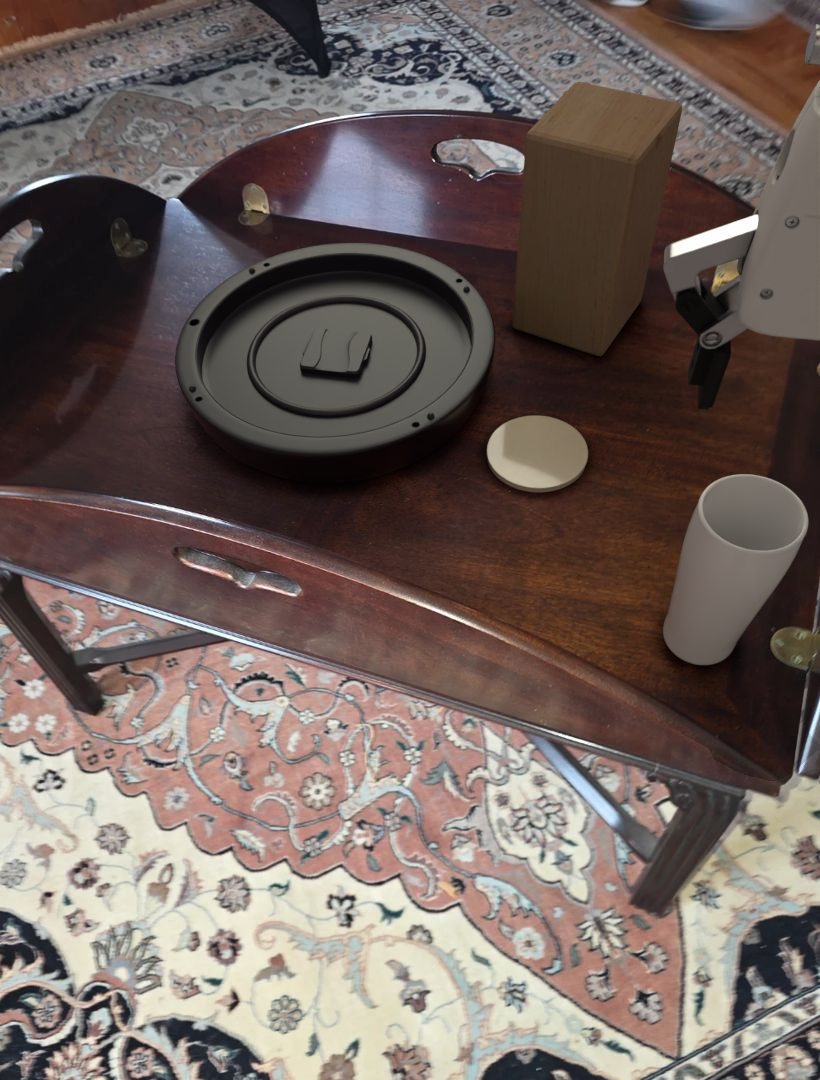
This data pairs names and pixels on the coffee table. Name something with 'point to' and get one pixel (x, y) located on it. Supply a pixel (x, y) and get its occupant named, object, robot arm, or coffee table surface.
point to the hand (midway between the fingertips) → (796, 401)
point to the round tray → (336, 360)
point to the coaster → (537, 453)
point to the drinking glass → (731, 563)
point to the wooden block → (590, 213)
